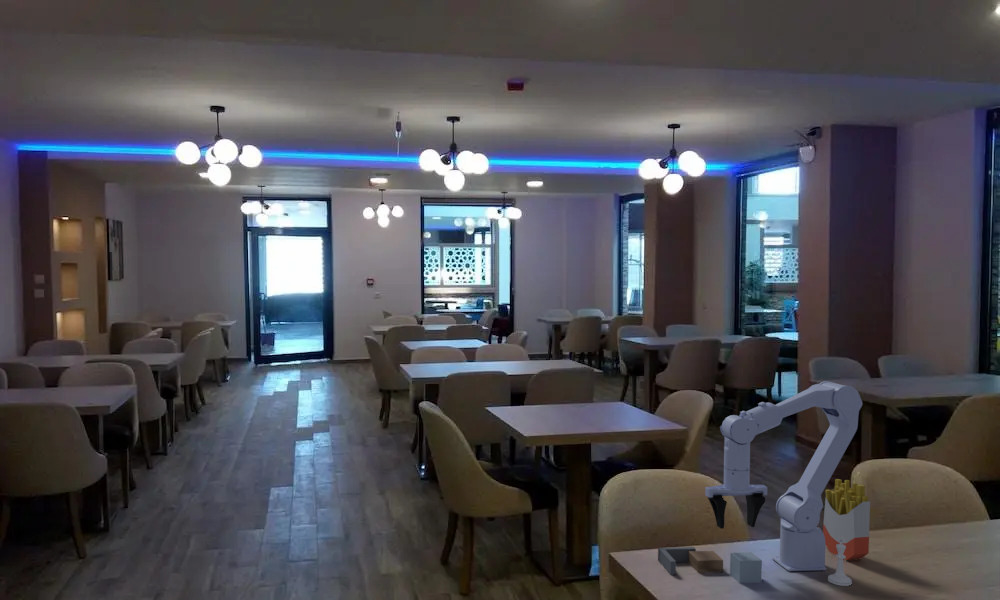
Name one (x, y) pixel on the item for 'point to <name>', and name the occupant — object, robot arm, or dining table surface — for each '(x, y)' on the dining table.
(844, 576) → the chess piece
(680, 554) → the corner jig
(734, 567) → the blue-grey cube
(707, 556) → the walnut block
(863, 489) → the french fries container
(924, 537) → the dining table surface
